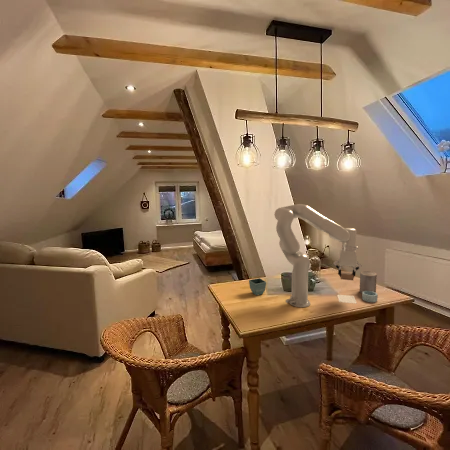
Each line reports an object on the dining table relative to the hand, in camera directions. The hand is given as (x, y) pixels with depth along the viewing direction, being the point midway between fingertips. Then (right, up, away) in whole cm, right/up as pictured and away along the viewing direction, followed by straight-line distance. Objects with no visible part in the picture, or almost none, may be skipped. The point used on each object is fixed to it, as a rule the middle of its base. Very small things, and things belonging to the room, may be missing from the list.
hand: (346, 276), depth 174 cm
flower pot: (-54, -15, +15) cm, 57 cm away
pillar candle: (+19, -13, +12) cm, 26 cm away
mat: (+1, -15, +2) cm, 15 cm away
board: (0, -1, 0) cm, 1 cm away
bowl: (+15, -15, 0) cm, 21 cm away
